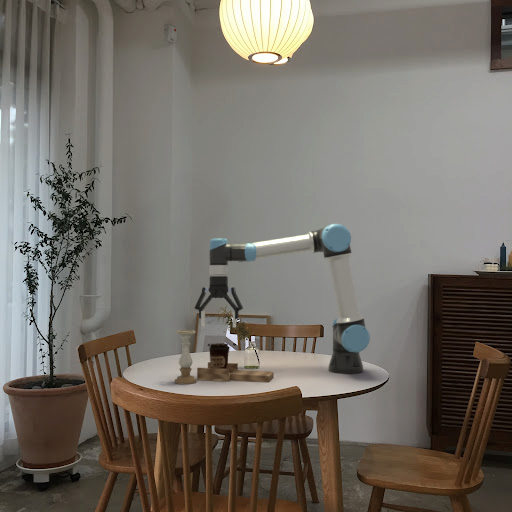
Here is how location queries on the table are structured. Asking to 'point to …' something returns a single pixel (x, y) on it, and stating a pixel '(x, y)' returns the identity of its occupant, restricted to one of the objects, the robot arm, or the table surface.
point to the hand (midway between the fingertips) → (218, 326)
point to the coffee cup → (219, 355)
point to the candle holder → (185, 359)
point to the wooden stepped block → (233, 374)
